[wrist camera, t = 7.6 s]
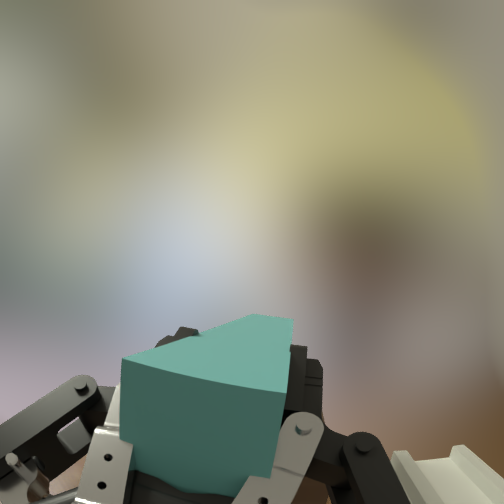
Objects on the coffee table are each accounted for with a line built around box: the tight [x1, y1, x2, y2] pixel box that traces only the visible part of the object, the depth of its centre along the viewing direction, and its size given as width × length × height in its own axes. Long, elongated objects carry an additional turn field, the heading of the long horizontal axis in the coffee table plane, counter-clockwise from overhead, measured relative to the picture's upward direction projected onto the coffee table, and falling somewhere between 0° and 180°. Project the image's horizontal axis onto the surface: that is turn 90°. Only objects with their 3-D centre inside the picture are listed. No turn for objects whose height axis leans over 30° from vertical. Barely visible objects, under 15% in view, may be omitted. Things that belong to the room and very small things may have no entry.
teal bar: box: [119, 314, 293, 498], centre depth 18 cm, size 24×4×4 cm, turn 172°
